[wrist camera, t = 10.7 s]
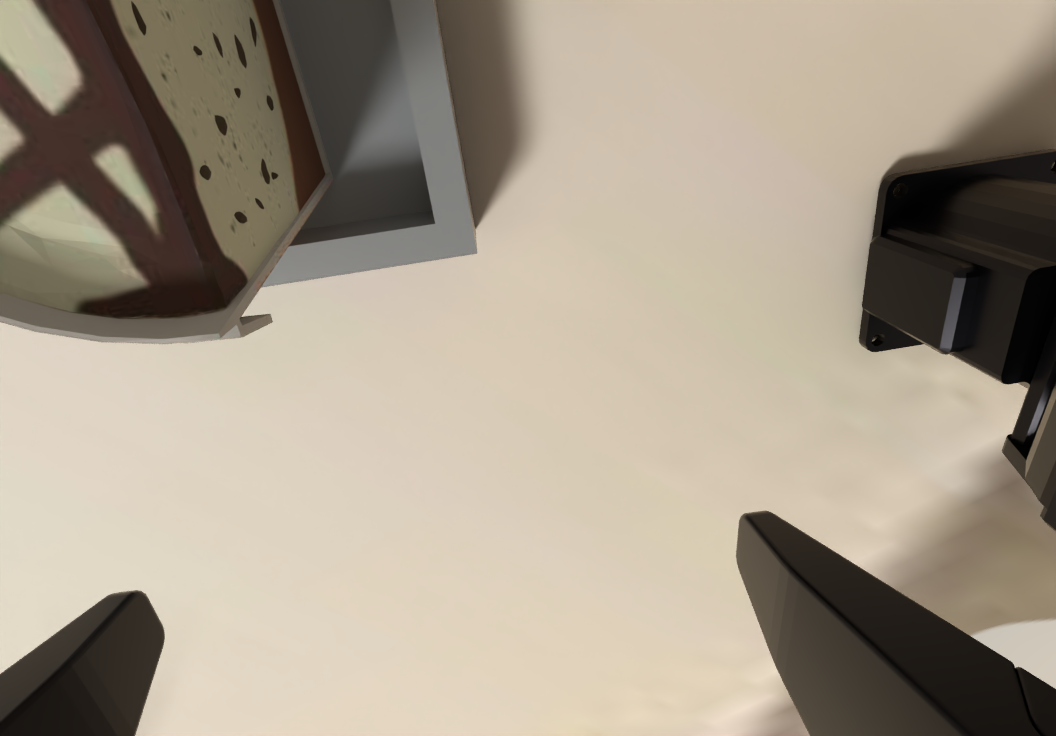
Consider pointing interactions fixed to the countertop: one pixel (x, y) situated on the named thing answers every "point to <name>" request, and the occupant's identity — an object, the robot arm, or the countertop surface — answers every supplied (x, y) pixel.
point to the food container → (149, 165)
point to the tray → (378, 140)
